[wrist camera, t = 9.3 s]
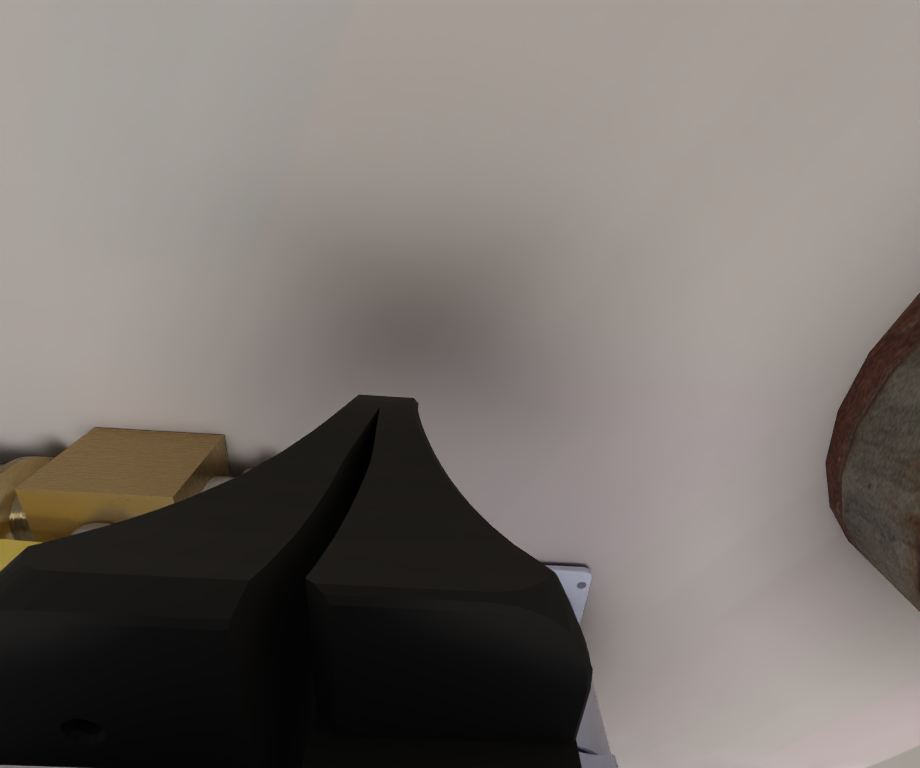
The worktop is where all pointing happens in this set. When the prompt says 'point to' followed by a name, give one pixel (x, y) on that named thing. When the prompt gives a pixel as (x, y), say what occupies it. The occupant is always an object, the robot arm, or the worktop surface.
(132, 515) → the valve body
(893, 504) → the barrel
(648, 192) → the worktop surface
